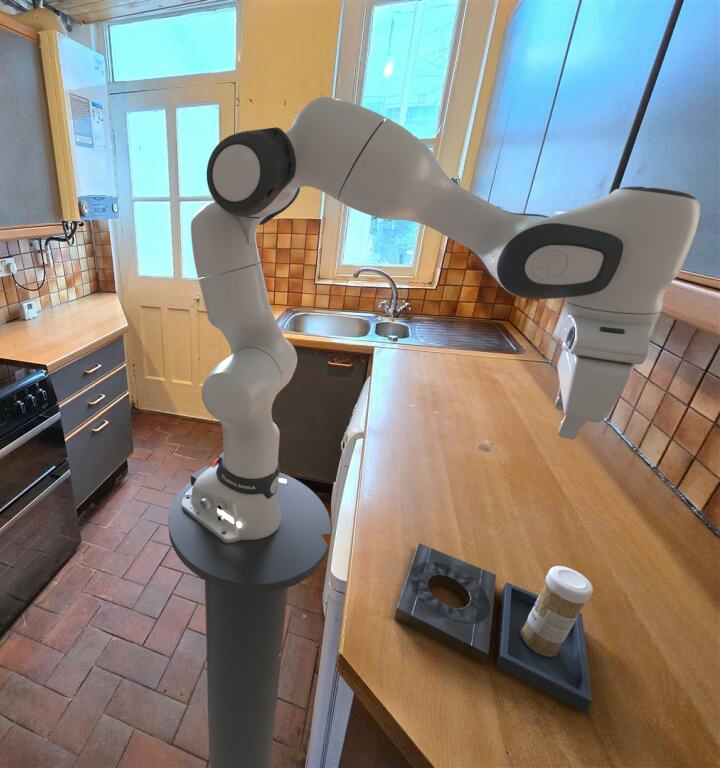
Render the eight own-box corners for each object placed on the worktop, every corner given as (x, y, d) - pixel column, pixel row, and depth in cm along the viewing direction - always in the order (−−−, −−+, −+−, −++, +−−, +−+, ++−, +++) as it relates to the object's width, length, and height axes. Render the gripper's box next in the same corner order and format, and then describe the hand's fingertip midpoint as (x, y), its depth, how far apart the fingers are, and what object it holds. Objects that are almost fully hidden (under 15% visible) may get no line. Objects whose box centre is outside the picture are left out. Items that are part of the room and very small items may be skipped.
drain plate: (394, 618, 64) (397, 607, 63) (415, 552, 75) (418, 542, 74) (483, 665, 57) (488, 654, 56) (492, 585, 69) (496, 574, 68)
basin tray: (495, 666, 57) (500, 655, 56) (501, 592, 68) (506, 581, 67) (584, 712, 52) (592, 701, 51) (576, 624, 63) (582, 613, 61)
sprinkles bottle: (519, 622, 62) (549, 559, 57) (557, 638, 60) (591, 574, 54) (519, 647, 59) (551, 582, 53) (559, 665, 57) (596, 600, 51)
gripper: (565, 307, 61) (535, 389, 67) (576, 344, 46) (536, 446, 52) (622, 313, 58) (585, 399, 63) (653, 355, 43) (602, 463, 48)
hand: (563, 421), depth 58 cm, fingers open, 8 cm apart
